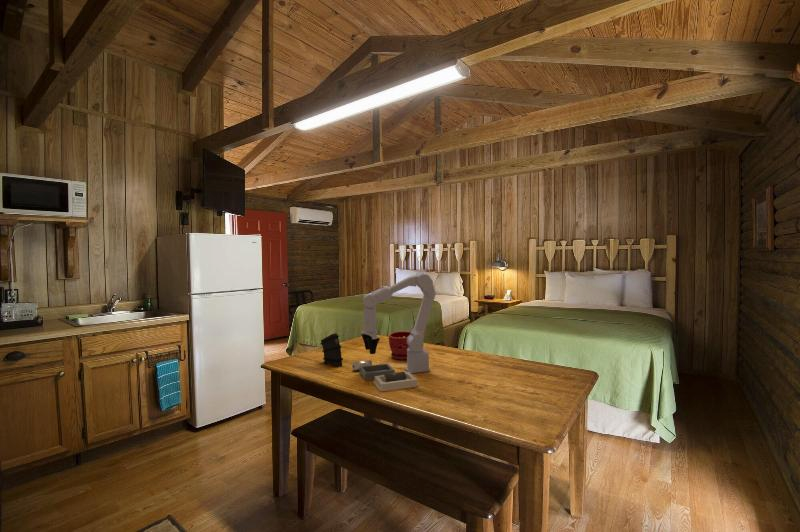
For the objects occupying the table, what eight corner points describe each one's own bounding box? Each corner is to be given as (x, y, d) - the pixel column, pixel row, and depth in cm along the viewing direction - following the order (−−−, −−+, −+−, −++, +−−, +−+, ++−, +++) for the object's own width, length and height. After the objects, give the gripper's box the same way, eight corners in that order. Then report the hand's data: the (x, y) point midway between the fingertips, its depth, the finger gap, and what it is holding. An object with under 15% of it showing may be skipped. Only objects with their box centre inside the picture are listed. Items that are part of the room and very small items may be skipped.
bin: (387, 369, 175) (387, 363, 175) (394, 376, 166) (394, 369, 166) (359, 373, 171) (359, 366, 171) (365, 380, 161) (364, 373, 161)
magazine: (340, 365, 178) (331, 334, 181) (326, 371, 186) (317, 341, 190) (346, 363, 180) (338, 332, 184) (332, 369, 189) (324, 340, 193)
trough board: (409, 378, 164) (409, 371, 164) (418, 386, 154) (418, 379, 154) (373, 383, 159) (373, 376, 158) (380, 391, 149) (379, 384, 149)
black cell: (402, 379, 160) (402, 370, 159) (406, 383, 156) (406, 373, 155) (382, 382, 157) (382, 372, 156) (385, 386, 153) (385, 376, 153)
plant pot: (391, 353, 202) (390, 330, 201) (416, 354, 200) (416, 331, 199) (387, 361, 189) (386, 336, 188) (413, 361, 187) (413, 337, 186)
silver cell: (369, 360, 180) (371, 359, 176) (370, 369, 179) (372, 368, 175) (351, 362, 177) (353, 361, 173) (352, 371, 176) (354, 371, 172)
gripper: (357, 319, 176) (357, 348, 177) (365, 325, 162) (365, 356, 163) (372, 317, 178) (372, 346, 179) (381, 323, 165) (381, 355, 165)
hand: (370, 351), depth 171 cm, fingers open, 7 cm apart
